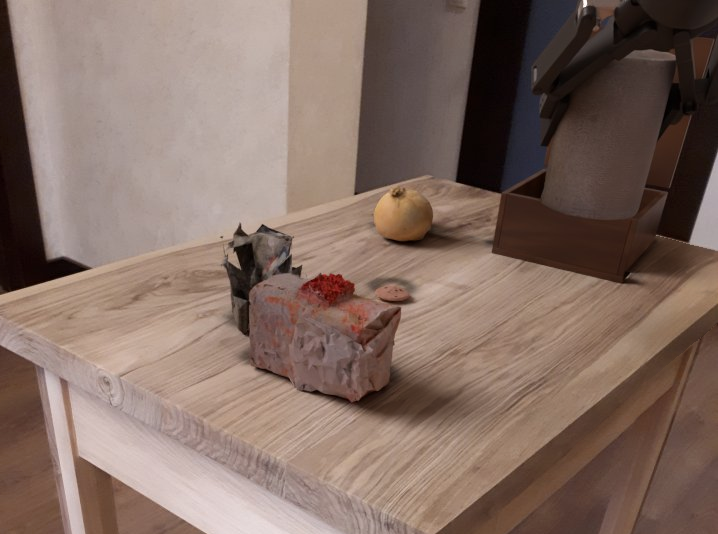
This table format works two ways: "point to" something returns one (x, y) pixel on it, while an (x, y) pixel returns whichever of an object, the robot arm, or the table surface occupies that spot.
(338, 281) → the food item
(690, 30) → the robot arm
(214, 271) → the table surface
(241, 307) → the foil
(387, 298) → the cookie
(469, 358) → the table surface
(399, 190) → the onion
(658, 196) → the chest
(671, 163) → the chest lid
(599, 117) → the pillar candle
